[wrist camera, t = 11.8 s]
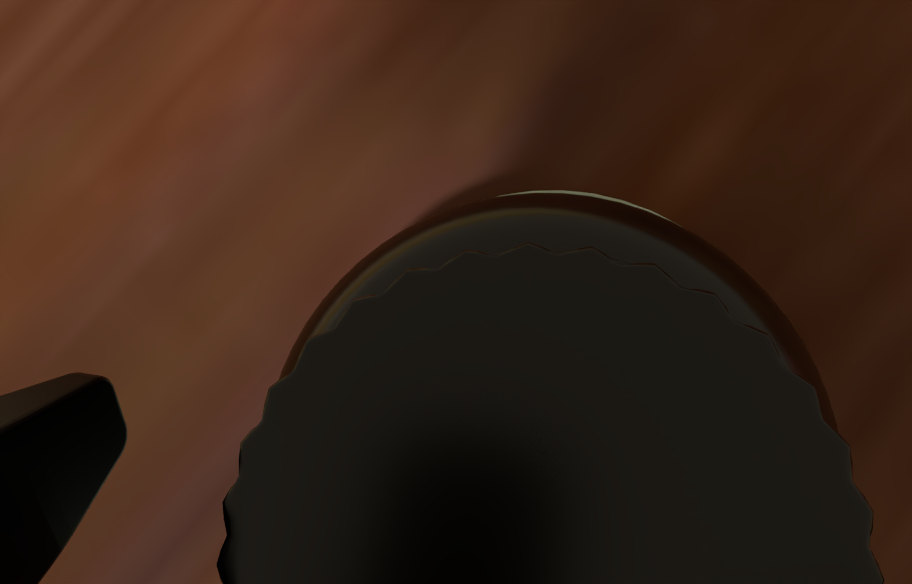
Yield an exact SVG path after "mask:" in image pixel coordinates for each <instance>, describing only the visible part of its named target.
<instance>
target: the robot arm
mask: <svg viewBox="0 0 912 584" xmlns="http://www.w3.org/2000/svg"><path fill="white" fill-rule="evenodd" d="M126 440H127V426H126V423H125V420H124V417H123V414H122V411H121V408H120V405H119V402H118V399H117V396H116V393H115V390H114V387H113V385H112V383H111V382H110V381H109V379H108V378H105V377H103V376H99V375H92V374H85V373H71V374H67V375H64V376H61V377H58V378H55V379H52V380H48V381H45V382H42V383H39V384H36V385H33V386H30V387H27V388H24V389H21V390H17V391H14V392H11V393H8V394H5V395H2V396H0V584H38V583H39V582H40V581H41V579H42V578H43V577H44V575H45V574H46V573H47V571H48V570H49V569H50V567H51V566H52V565H53V563H54V562H55V560H56V559H57V558H58V556H59V555H60V553H61V552H62V550H63V549H64V547H65V546H66V544H67V543H68V541H69V540H70V538H71V536H72V535H73V533H74V532H75V530H76V528H77V527H78V525H79V523H80V522H81V520H82V519H83V517H84V515H85V514H86V512H87V510H88V509H89V507H90V505H91V504H92V502H93V500H94V499H95V497H96V495H97V494H98V492H99V490H100V489H101V487H102V486H103V484H104V482H105V481H106V479H107V477H108V476H109V474H110V472H111V471H112V469H113V467H114V466H115V464H116V462H117V461H118V459H119V458H120V456H121V454H122V452H123V450H124V448H125V445H126Z"/></svg>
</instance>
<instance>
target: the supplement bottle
mask: <svg viewBox="0 0 912 584" xmlns="http://www.w3.org/2000/svg"><path fill="white" fill-rule="evenodd" d="M223 514H224V522H225V527H226V532H227V537H226V539H225V541H224V544H223V546H222V548H221V551H220V555H219V558H218V561H217V568H218V572H219V575H220V579H221V581H222V583H223V584H883V583H884V578H883V576H882V573H881V571H880V568H879V565H878V563H877V561H876V559H875V557H874V555H873V554H872V552H871V550H870V548H869V544H870V536H871V532H872V529H873V510H872V508H871V507H870V505H869V503H868V502H867V500H866V499H865V497H864V496H863V494H862V493H861V492H860V491H859V489H858V488H857V487H856V486H855V484H854V483H853V479H852V458H851V451H850V445H849V444H848V443H847V442H846V441H845V440H844V439H843V438H842V436H841V435H840V434H839V433H838V430H837V425H836V421H835V418H834V414H833V411H832V408H831V404H830V401H829V398H828V395H827V392H826V390H825V387H824V385H823V382H822V380H821V378H820V375H819V373H818V370H817V368H816V366H815V364H814V362H813V360H812V358H811V356H810V355H809V353H808V351H807V349H806V347H805V345H804V343H803V341H802V340H801V338H800V337H799V335H798V334H797V332H796V331H795V329H794V328H793V326H792V325H791V323H790V322H789V320H788V319H787V317H786V316H785V314H784V313H783V312H782V311H781V310H780V308H779V307H778V306H777V305H776V303H775V302H774V301H773V300H772V298H771V297H770V296H769V295H768V294H767V292H766V291H765V290H764V289H763V288H762V287H761V286H760V285H759V284H758V283H757V282H756V281H755V280H754V279H753V278H752V277H751V276H750V275H749V274H748V273H747V272H746V271H745V270H744V269H742V268H741V267H740V266H739V265H738V264H736V263H735V262H734V261H733V260H732V259H730V258H729V257H728V256H727V255H725V254H724V253H723V252H722V251H720V250H719V249H717V248H716V247H714V246H713V245H711V244H710V243H708V242H707V241H705V240H704V239H702V238H701V237H700V236H698V235H696V234H694V233H692V232H691V231H689V230H687V229H685V228H683V227H681V226H680V225H678V224H676V223H674V222H672V221H670V220H667V219H665V218H663V217H660V216H658V215H655V214H653V213H651V212H648V211H646V210H643V209H640V208H636V207H633V206H630V205H627V204H624V203H620V202H616V201H612V200H607V199H602V198H598V197H593V196H585V195H576V194H567V193H525V194H513V195H504V196H499V197H493V198H488V199H482V200H478V201H475V202H471V203H467V204H464V205H460V206H457V207H453V208H451V209H448V210H446V211H443V212H441V213H438V214H436V215H433V216H431V217H428V218H426V219H424V220H422V221H420V222H418V223H416V224H414V225H412V226H410V227H408V228H406V229H405V230H403V231H401V232H400V233H398V234H397V235H395V236H393V237H392V238H390V239H389V240H387V241H386V242H384V243H382V244H381V245H380V246H378V247H377V248H376V249H375V250H373V251H372V252H371V253H370V254H368V255H367V256H366V257H364V258H363V259H362V260H361V261H359V262H358V263H357V264H356V265H355V266H354V267H353V268H352V269H351V270H350V271H349V272H348V273H347V274H346V275H345V276H344V277H343V278H342V279H341V280H340V281H339V282H338V283H337V284H336V285H335V286H334V288H333V289H332V290H331V291H330V292H329V293H328V295H327V296H326V297H325V298H324V299H323V300H322V302H321V303H320V304H319V306H318V307H317V309H316V310H315V311H314V313H313V314H312V316H311V317H310V319H309V320H308V321H307V323H306V324H305V326H304V328H303V330H302V331H301V333H300V335H299V337H298V338H297V340H296V342H295V344H294V345H293V347H292V349H291V352H290V354H289V356H288V358H287V361H286V363H285V365H284V367H283V369H282V372H281V375H280V378H279V380H278V381H277V382H276V383H275V384H273V385H272V386H271V387H270V388H269V390H268V393H267V397H266V401H265V404H264V410H263V416H262V421H261V422H260V423H259V425H258V426H257V427H255V428H253V429H252V430H251V431H250V432H249V434H248V435H247V436H246V437H245V438H244V440H243V441H242V442H241V444H240V454H239V477H238V479H237V481H236V483H235V484H234V485H233V486H232V487H231V488H230V490H229V491H228V493H227V495H226V497H225V499H224V501H223Z"/></svg>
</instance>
